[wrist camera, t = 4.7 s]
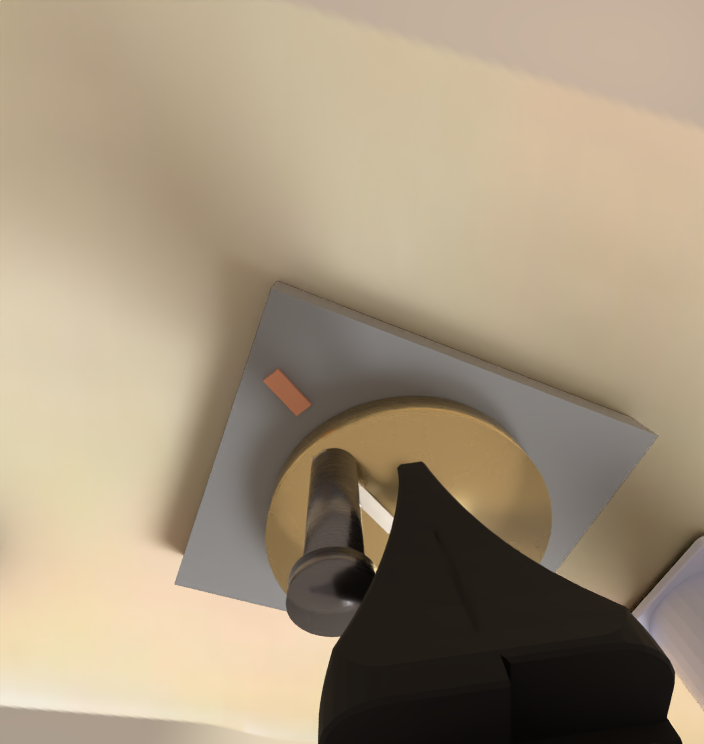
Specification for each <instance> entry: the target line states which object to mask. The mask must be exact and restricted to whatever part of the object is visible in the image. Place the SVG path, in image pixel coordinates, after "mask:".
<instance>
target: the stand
mask: <svg viewBox="0 0 704 744" xmlns="http://www.w3.org/2000/svg"><path fill="white" fill-rule="evenodd" d="M400 396H428V397H435V398H443V399H447V400H451V401H455V402H458V403H462V404H464V405H467V406H469V407H472V408H474V409H476V410H479V411H480V412H482V413H484V414H485V415H487V416H489V417H490V418H492V419H494V420H495V421H496V422H497V423H498V424H500V425H501V426H502V427H503V428H505V429H506V430H507V431H508V432H509V434H510V435H511V436H512V437H513V438H514V439H515V440H516V441H517V443H518V444H519V445H520V446H521V448H522V449H523V450H524V451H525V453H526V454H527V455H528V457H529V458H530V459H531V460H532V462H533V463H534V464H535V466H536V467H537V469H538V471H539V472H540V474H541V475H542V477H543V479H544V482H545V484H546V486H547V489H548V492H549V496H550V501H551V505H552V527H551V535H550V539H549V542H548V546H547V549H546V551H545V554H544V556H543V558H542V561H541V563H540V565H542V566H544V567H545V568H547V569H549V570H550V571H552V572H554V573H555V572H556V570H557V569H558V568H559V566H560V565H561V564H562V562H563V561H564V560H565V558H566V557H567V556H568V554H569V553H570V552H571V550H572V549H573V548H574V546H575V545H576V544H577V543H578V541H579V540H580V539H581V537H582V536H583V535H584V533H585V532H586V531H587V529H588V528H589V527H590V525H591V524H592V523H593V521H594V520H595V519H596V517H597V516H598V515H599V514H600V512H601V511H602V510H603V508H604V507H605V506H606V504H607V503H608V502H609V500H610V499H611V498H612V496H613V495H614V494H615V492H616V491H617V490H618V488H619V487H620V486H621V484H622V483H623V482H624V481H625V479H626V478H627V477H628V475H629V474H630V473H631V471H632V470H633V469H634V467H635V466H636V465H637V463H638V462H639V461H640V459H641V458H642V457H643V455H644V454H645V453H646V452H647V450H648V449H649V448H650V446H651V445H652V444H653V442H654V441H655V440H656V438H657V437H658V435H656V434H655V433H653V432H652V431H650V430H649V429H648V428H646V427H645V426H643V425H642V424H640V423H639V422H637V421H636V420H635V419H633V418H631V417H628V416H626V415H623V414H621V413H618V412H616V411H613V410H610V409H608V408H605V407H603V406H600V405H597V404H595V403H592V402H590V401H587V400H584V399H582V398H579V397H577V396H574V395H572V394H569V393H566V392H564V391H561V390H559V389H556V388H553V387H551V386H548V385H546V384H543V383H540V382H538V381H535V380H533V379H530V378H527V377H525V376H522V375H520V374H517V373H515V372H512V371H509V370H507V369H504V368H502V367H499V366H496V365H494V364H491V363H489V362H486V361H483V360H481V359H478V358H476V357H473V356H471V355H468V354H465V353H463V352H460V351H458V350H455V349H452V348H450V347H447V346H445V345H442V344H439V343H437V342H434V341H432V340H429V339H426V338H424V337H421V336H419V335H416V334H414V333H411V332H408V331H406V330H403V329H401V328H398V327H395V326H393V325H390V324H388V323H385V322H382V321H380V320H377V319H375V318H372V317H370V316H367V315H364V314H362V313H359V312H357V311H354V310H351V309H349V308H346V307H344V306H341V305H338V304H336V303H333V302H331V301H328V300H325V299H323V298H320V297H318V296H315V295H313V294H310V293H307V292H305V291H302V290H300V289H297V288H294V287H292V286H289V285H287V284H284V283H281V282H279V281H277V282H276V283H275V284H274V285H273V286H272V288H271V290H270V293H269V296H268V299H267V302H266V305H265V308H264V312H263V315H262V318H261V321H260V324H259V327H258V330H257V333H256V336H255V339H254V342H253V345H252V348H251V351H250V354H249V357H248V360H247V364H246V367H245V370H244V373H243V376H242V379H241V382H240V385H239V388H238V391H237V394H236V397H235V400H234V403H233V406H232V409H231V412H230V416H229V419H228V422H227V425H226V428H225V431H224V434H223V437H222V440H221V443H220V446H219V449H218V452H217V455H216V458H215V461H214V464H213V467H212V471H211V474H210V477H209V480H208V483H207V486H206V489H205V492H204V495H203V498H202V501H201V504H200V507H199V510H198V513H197V516H196V519H195V523H194V526H193V529H192V532H191V535H190V538H189V541H188V544H187V547H186V550H185V553H184V556H183V559H182V562H181V565H180V568H179V571H178V575H177V578H176V581H175V585H179V586H183V587H187V588H192V589H196V590H200V591H204V592H208V593H212V594H216V595H221V596H225V597H229V598H233V599H237V600H241V601H246V602H250V603H254V604H258V605H262V606H266V607H271V608H275V609H279V610H283V611H287V609H286V596H287V595H286V594H285V592H284V591H283V590H282V588H281V587H280V585H279V584H278V582H277V580H276V579H275V577H274V574H273V572H272V569H271V567H270V565H269V561H268V556H267V552H266V540H265V533H266V524H267V518H268V513H269V509H270V504H271V499H272V495H273V491H274V487H275V484H276V480H277V478H278V476H279V474H280V471H281V469H282V467H283V465H284V463H285V462H286V460H287V459H288V457H289V456H290V454H291V453H292V451H293V450H294V449H295V448H296V447H297V446H298V445H299V443H300V442H301V441H302V440H303V439H304V438H305V437H306V436H307V435H309V434H310V433H311V432H312V431H313V430H314V429H316V428H317V427H318V426H320V425H321V424H323V423H324V422H326V421H327V420H329V419H330V418H332V417H334V416H336V415H338V414H340V413H342V412H344V411H346V410H348V409H350V408H353V407H355V406H358V405H361V404H364V403H367V402H371V401H375V400H379V399H384V398H390V397H400Z"/></svg>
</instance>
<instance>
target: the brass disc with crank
mask: <svg viewBox="0 0 704 744" xmlns="http://www.w3.org/2000/svg"><path fill="white" fill-rule="evenodd" d="M420 461H422V462H423V463H425V464H426V466H427V467H428V468H429V470H430V471H431V472H432V473H433V475H434V476H435V477H436V478H437V479H438V481H439V482H440V483H441V484H442V485H443V486H444V487H445V488H446V489H447V491H448V492H449V493H450V494H451V495H452V496H453V497H454V498H455V499H456V500H457V501H458V502H459V503H460V504H461V505H462V506H463V507H464V508H465V509H466V510H468V511H469V512H470V513H471V514H472V515H473V516H474V517H475V518H476V519H478V520H479V521H480V522H481V523H482V524H483V525H485V526H486V527H487V528H488V529H489V530H491V531H492V532H493V533H494V534H496V535H497V536H498V537H500V538H501V539H502V540H504V541H505V542H506V543H508V544H509V545H511V546H512V547H514V548H515V549H516V550H518V551H519V552H521V553H522V554H524V555H526V556H527V557H529V558H531V559H532V560H534V561H535V562H537V563H539V564H540V563H541V561H542V558H543V556H544V554H545V551H546V549H547V546H548V542H549V539H550V535H551V527H552V505H551V501H550V496H549V492H548V489H547V486H546V484H545V482H544V479H543V477H542V475H541V474H540V472H539V471H538V469H537V467H536V466H535V464H534V463H533V462H532V460H531V459H530V458H529V457H528V455H527V454H526V453H525V451H524V450H523V449H522V448H521V446H520V445H519V444H518V443H517V441H516V440H515V439H514V438H513V437H512V436H511V435H510V434H509V432H508V431H507V430H506V429H505V428H503V427H502V426H501V425H500V424H498V423H497V422H496V421H495V420H494V419H492V418H490V417H489V416H487V415H485V414H484V413H482V412H480V411H479V410H476V409H474V408H472V407H469V406H467V405H464V404H462V403H458V402H455V401H451V400H447V399H443V398H435V397H428V396H400V397H390V398H384V399H379V400H375V401H371V402H367V403H364V404H361V405H358V406H355V407H353V408H350V409H348V410H346V411H344V412H342V413H340V414H338V415H336V416H334V417H332V418H330V419H329V420H327V421H326V422H324V423H323V424H321V425H320V426H318V427H317V428H316V429H314V430H313V431H312V432H311V433H310V434H309V435H307V436H306V437H305V438H304V439H303V440H302V441H301V442H300V443H299V445H298V446H297V447H296V448H295V449H294V450H293V451H292V453H291V454H290V456H289V457H288V459H287V460H286V462H285V463H284V465H283V467H282V469H281V471H280V474H279V476H278V478H277V480H276V484H275V487H274V491H273V495H272V499H271V504H270V509H269V513H268V518H267V524H266V533H265V540H266V552H267V556H268V561H269V565H270V567H271V569H272V572H273V574H274V577H275V579H276V580H277V582H278V584H279V585H280V587H281V588H282V590H283V591H284V592H285V594H286V595H287V596H286V609H287V613H288V615H289V617H290V618H291V620H292V621H293V622H294V623H295V624H296V625H297V626H298V627H300V628H301V629H303V630H305V631H307V632H309V633H312V634H315V635H319V636H325V637H339V636H341V635H342V634H343V632H344V631H345V629H346V628H347V626H348V625H349V623H350V621H351V620H352V618H353V616H354V615H355V613H356V611H357V609H358V607H359V606H360V604H361V602H362V600H363V598H364V596H365V594H366V592H367V591H368V589H369V587H370V584H371V582H372V580H373V578H374V576H375V573H376V571H377V568H378V566H379V564H380V561H381V559H382V556H383V553H384V550H385V547H386V544H387V541H388V538H389V535H390V531H391V527H392V523H393V519H394V515H395V510H396V503H397V497H398V487H399V479H398V471H397V468H398V467H399V465H400V464H406V463H413V462H420Z"/></svg>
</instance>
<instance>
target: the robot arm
mask: <svg viewBox="0 0 704 744" xmlns="http://www.w3.org/2000/svg"><path fill="white" fill-rule="evenodd" d="M397 471H398V479H399V487H398V497H397V503H396V510H395V515H394V519H393V523H392V527H391V531H390V535H389V538H388V541H387V544H386V547H385V550H384V553H383V556H382V559H381V561H380V564H379V566H378V568H377V571H376V573H375V576H374V578H373V580H372V582H371V584H370V587H369V589H368V591H367V592H366V594H365V596H364V598H363V600H362V602H361V604H360V606H359V607H358V609H357V611H356V613H355V615H354V616H353V618H352V620H351V621H350V623H349V625H348V626H347V628H346V629H345V631H344V632H343V634H342V635H341V637H340V638H339V640H338V642H337V643H336V645H335V646H334V648H333V650H332V654H331V657H330V661H329V664H328V668H327V672H326V676H325V680H324V685H323V690H322V695H321V702H320V709H319V728H318V744H682V741H681V738H680V737H679V735H678V734H677V732H676V731H675V729H674V728H673V726H672V725H671V723H670V722H669V720H668V719H667V714H668V710H669V705H670V701H671V697H672V693H673V689H674V684H675V673H676V674H677V676H678V677H679V678H680V680H681V681H682V682H683V684H684V685H685V686H686V688H687V689H688V691H689V692H690V693H691V695H692V696H693V697H694V699H695V700H696V701H697V703H698V704H699V705H700V707H701V708H702V709H703V711H704V536H702V537H700V538H698V539H697V540H696V541H695V542H694V543H693V544H692V545H691V547H690V548H689V549H688V550H687V551H686V552H685V553H684V554H683V556H682V557H681V558H680V559H679V560H678V561H677V562H676V563H675V565H674V566H673V567H672V568H671V569H670V570H669V571H668V572H667V574H666V575H665V576H664V577H663V578H662V579H661V580H660V581H659V583H658V584H657V585H656V586H655V587H654V588H653V589H652V591H651V592H650V593H649V594H648V595H647V596H646V597H645V598H644V600H643V601H642V602H641V603H640V604H639V605H638V606H637V607H636V609H635V610H634V611H633V612H632V613H631V612H630V611H629V610H628V609H627V608H626V607H624V606H622V605H620V604H618V603H616V602H613V601H611V600H609V599H607V598H605V597H602V596H600V595H598V594H596V593H594V592H591V591H589V590H587V589H585V588H583V587H581V586H579V585H577V584H575V583H573V582H571V581H569V580H567V579H565V578H563V577H561V576H560V575H558V574H556V573H554V572H552V571H550V570H549V569H547V568H545V567H544V566H542V565H540V564H539V563H537V562H535V561H534V560H532V559H531V558H529V557H527V556H526V555H524V554H522V553H521V552H519V551H518V550H516V549H515V548H514V547H512V546H511V545H509V544H508V543H506V542H505V541H504V540H502V539H501V538H500V537H498V536H497V535H496V534H494V533H493V532H492V531H491V530H489V529H488V528H487V527H486V526H485V525H483V524H482V523H481V522H480V521H479V520H478V519H476V518H475V517H474V516H473V515H472V514H471V513H470V512H469V511H468V510H466V509H465V508H464V507H463V506H462V505H461V504H460V503H459V502H458V501H457V500H456V499H455V498H454V497H453V496H452V495H451V494H450V493H449V492H448V491H447V489H446V488H445V487H444V486H443V485H442V484H441V483H440V482H439V481H438V479H437V478H436V477H435V476H434V475H433V473H432V472H431V471H430V470H429V468H428V467H427V466H426V464H425V463H423V462H422V461H420V462H413V463H406V464H400V465H399V467H398V468H397Z"/></svg>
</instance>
